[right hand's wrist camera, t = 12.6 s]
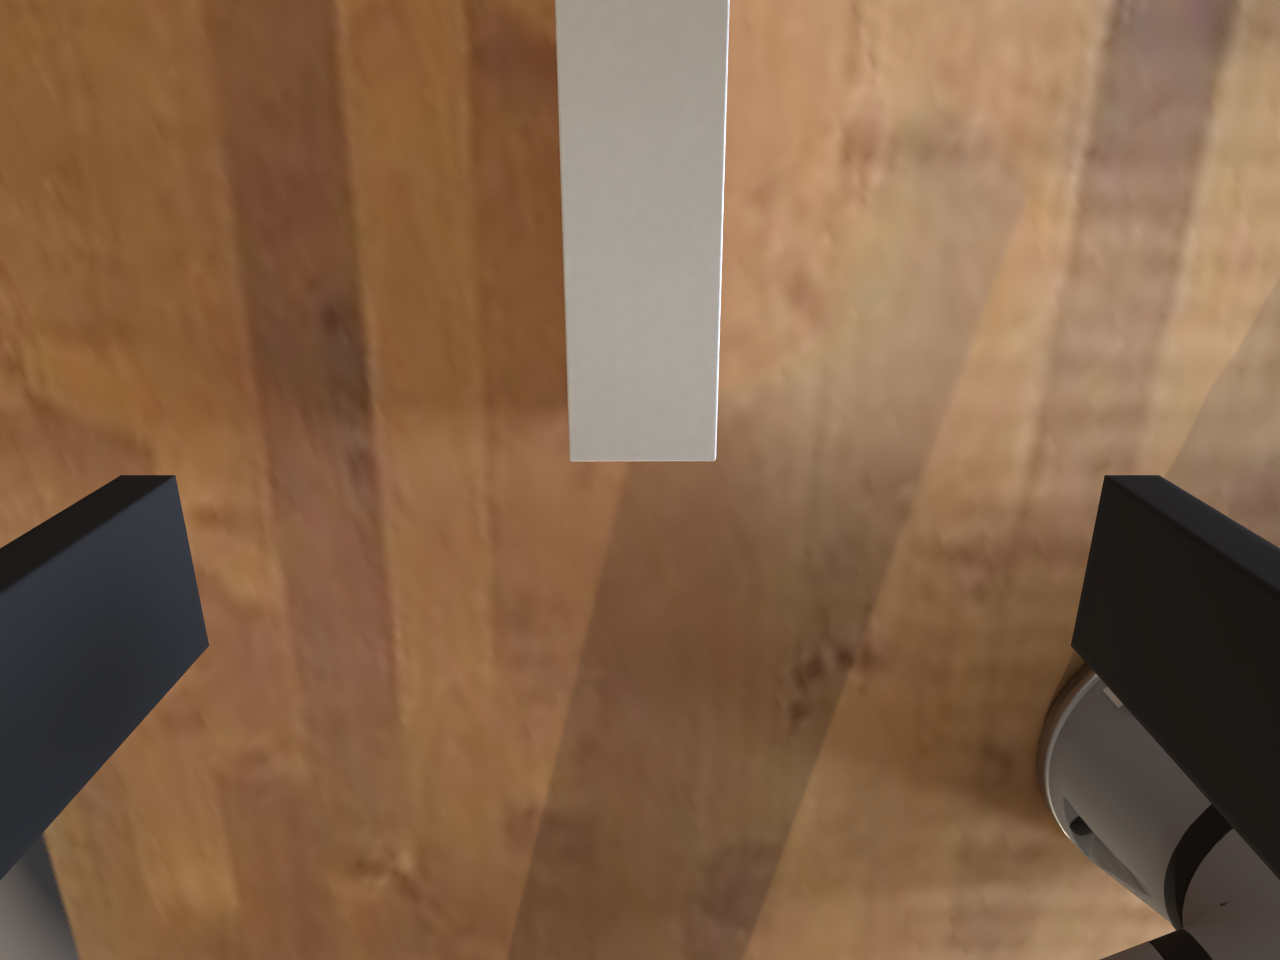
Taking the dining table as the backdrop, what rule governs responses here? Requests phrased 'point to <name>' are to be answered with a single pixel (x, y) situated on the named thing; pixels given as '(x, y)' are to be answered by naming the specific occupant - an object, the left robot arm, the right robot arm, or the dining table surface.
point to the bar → (642, 223)
